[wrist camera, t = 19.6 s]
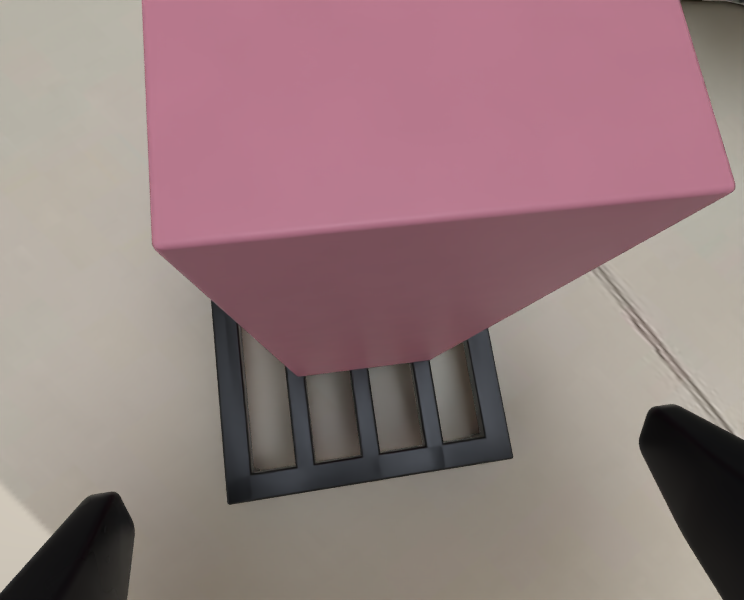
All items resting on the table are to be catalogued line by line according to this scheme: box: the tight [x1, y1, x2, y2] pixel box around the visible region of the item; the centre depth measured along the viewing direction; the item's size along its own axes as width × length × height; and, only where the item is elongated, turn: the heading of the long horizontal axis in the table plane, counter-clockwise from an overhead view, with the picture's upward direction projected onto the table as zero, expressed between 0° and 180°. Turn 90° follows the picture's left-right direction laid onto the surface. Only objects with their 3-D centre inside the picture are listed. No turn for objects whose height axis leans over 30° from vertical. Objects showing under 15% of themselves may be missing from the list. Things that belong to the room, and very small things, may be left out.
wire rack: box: [211, 300, 513, 505], centre depth 18 cm, size 12×9×2 cm
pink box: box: [142, 0, 735, 377], centre depth 10 cm, size 5×4×13 cm
